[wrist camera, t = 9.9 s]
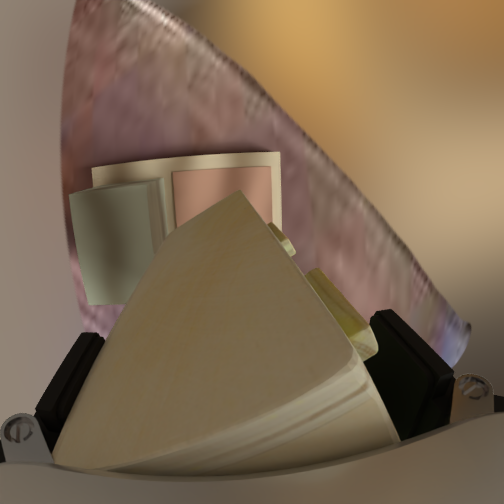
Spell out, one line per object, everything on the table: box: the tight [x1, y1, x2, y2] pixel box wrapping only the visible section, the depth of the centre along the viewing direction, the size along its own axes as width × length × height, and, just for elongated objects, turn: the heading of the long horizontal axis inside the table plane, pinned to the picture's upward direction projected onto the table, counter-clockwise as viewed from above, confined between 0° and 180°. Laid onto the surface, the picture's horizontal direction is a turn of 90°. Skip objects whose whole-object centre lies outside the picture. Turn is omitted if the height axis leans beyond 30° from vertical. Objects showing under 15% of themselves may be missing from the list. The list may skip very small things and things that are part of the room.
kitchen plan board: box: [69, 152, 282, 305], centre depth 30 cm, size 20×14×11 cm
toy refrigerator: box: [52, 190, 401, 476], centre depth 15 cm, size 8×7×21 cm
